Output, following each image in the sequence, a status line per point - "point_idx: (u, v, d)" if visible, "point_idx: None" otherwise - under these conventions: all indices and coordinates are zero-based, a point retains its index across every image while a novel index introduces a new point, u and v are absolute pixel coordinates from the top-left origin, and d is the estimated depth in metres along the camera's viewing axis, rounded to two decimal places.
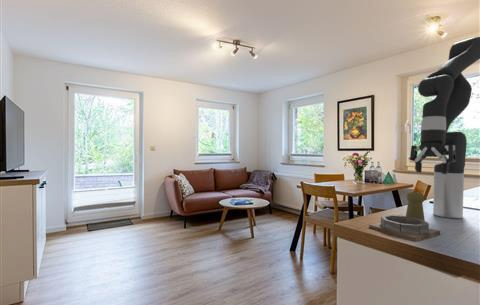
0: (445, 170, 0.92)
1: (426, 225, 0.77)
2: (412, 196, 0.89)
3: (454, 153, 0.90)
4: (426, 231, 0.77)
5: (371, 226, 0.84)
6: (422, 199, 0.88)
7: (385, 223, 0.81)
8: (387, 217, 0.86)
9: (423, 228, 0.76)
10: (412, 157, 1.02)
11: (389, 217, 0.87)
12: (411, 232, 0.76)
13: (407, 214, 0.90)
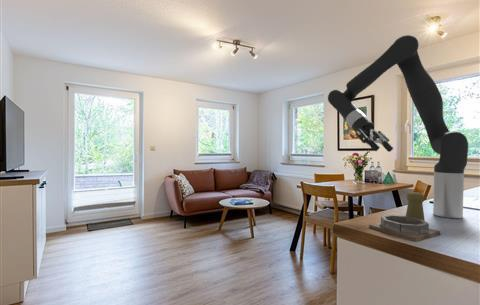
0: None
1: (426, 225, 0.77)
2: (412, 196, 0.89)
3: (361, 135, 1.01)
4: (426, 231, 0.77)
5: (371, 226, 0.84)
6: (422, 199, 0.88)
7: (385, 223, 0.81)
8: (387, 217, 0.86)
9: (423, 228, 0.76)
10: None
11: (389, 217, 0.87)
12: (411, 232, 0.76)
13: (407, 214, 0.90)
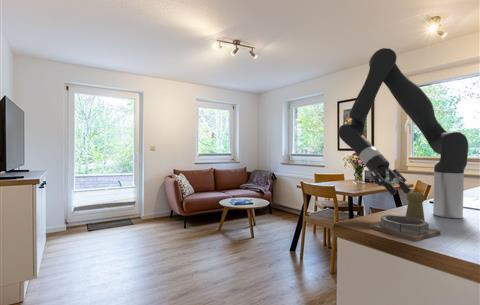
0: None
1: (426, 225, 0.77)
2: (412, 196, 0.89)
3: (376, 177, 0.96)
4: (426, 231, 0.77)
5: (371, 226, 0.84)
6: (422, 199, 0.88)
7: (385, 223, 0.81)
8: (387, 217, 0.86)
9: (423, 228, 0.76)
10: None
11: (389, 217, 0.87)
12: (411, 232, 0.76)
13: (407, 214, 0.90)
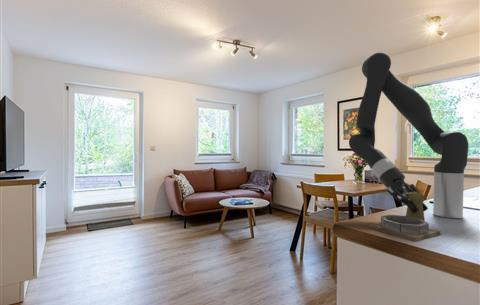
0: None
1: (426, 225, 0.77)
2: (413, 196, 0.89)
3: (396, 194, 0.90)
4: (426, 231, 0.77)
5: (371, 226, 0.84)
6: (422, 199, 0.88)
7: (385, 223, 0.81)
8: (387, 217, 0.86)
9: (423, 228, 0.76)
10: None
11: (389, 217, 0.87)
12: (411, 232, 0.76)
13: (407, 214, 0.90)
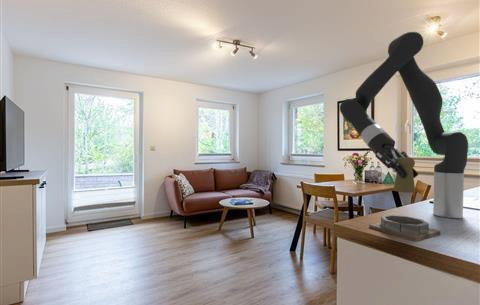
0: None
1: (426, 225, 0.77)
2: (402, 160, 0.82)
3: (384, 159, 0.84)
4: (426, 231, 0.77)
5: (371, 226, 0.84)
6: (412, 163, 0.82)
7: (385, 223, 0.81)
8: (387, 217, 0.86)
9: (423, 228, 0.76)
10: None
11: (389, 217, 0.87)
12: (411, 232, 0.76)
13: (396, 180, 0.84)
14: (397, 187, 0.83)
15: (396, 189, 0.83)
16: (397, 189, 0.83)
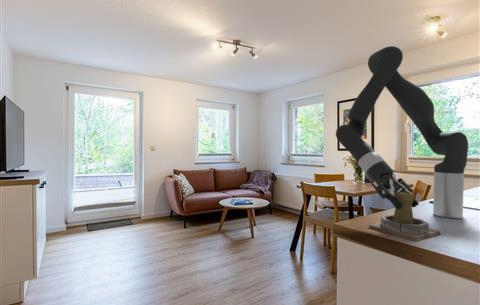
0: None
1: (426, 225, 0.77)
2: (400, 196, 0.81)
3: (379, 188, 0.82)
4: (426, 231, 0.77)
5: (371, 226, 0.84)
6: (411, 200, 0.80)
7: (385, 223, 0.81)
8: (387, 217, 0.86)
9: (423, 228, 0.76)
10: None
11: (389, 217, 0.87)
12: (411, 232, 0.76)
13: (395, 216, 0.83)
14: None
15: None
16: None
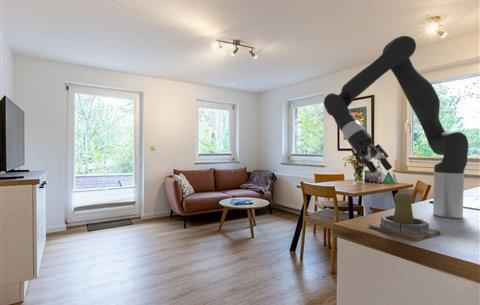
0: None
1: (426, 225, 0.77)
2: (400, 196, 0.81)
3: (357, 154, 0.91)
4: (426, 231, 0.77)
5: (371, 226, 0.84)
6: (411, 200, 0.80)
7: (385, 223, 0.81)
8: (387, 217, 0.86)
9: (423, 228, 0.76)
10: None
11: (389, 217, 0.87)
12: (411, 232, 0.76)
13: (395, 216, 0.83)
14: None
15: None
16: None
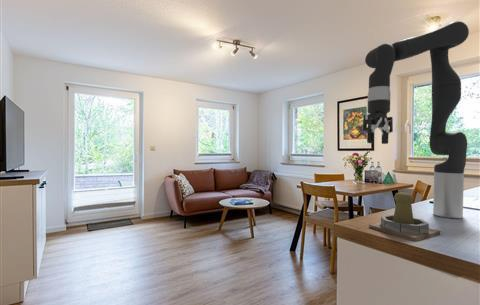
0: None
1: (426, 225, 0.77)
2: (400, 196, 0.81)
3: (366, 122, 0.94)
4: (426, 231, 0.77)
5: (371, 226, 0.84)
6: (411, 200, 0.80)
7: (385, 223, 0.81)
8: (387, 217, 0.86)
9: (423, 228, 0.76)
10: None
11: (389, 217, 0.87)
12: (411, 232, 0.76)
13: (395, 216, 0.83)
14: None
15: None
16: None
